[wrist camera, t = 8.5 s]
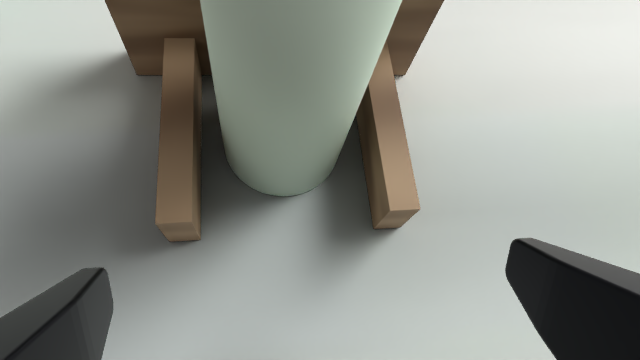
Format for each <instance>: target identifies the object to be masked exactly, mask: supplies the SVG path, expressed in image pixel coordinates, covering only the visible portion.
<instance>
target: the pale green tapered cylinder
mask: <svg viewBox="0 0 640 360" xmlns="http://www.w3.org/2000/svg"><path fill="white" fill-rule="evenodd" d="M401 2H402V0H200V3H201V10H202V16H203V22H204V28H205V34H206V40H207V46H208V52H209V59H210V65H211V71H212V77H213V83H214V89H215V95H216V101H217V108H218V114H219V120H220V126H221V132H222V138H223V144H224V150H225V155H226V158H227V161H228V163H229V165H230V167H231V169H232V170H233V172H234V173H235V174H236V176H237V177H238V178H239V179H240V180H241V181H242V182H244V183H245V184H246V185H248V186H249V187H251V188H253V189H255V190H257V191H259V192H262V193H265V194H269V195H274V196H294V195H298V194H302V193H305V192H307V191H310V190H312V189H313V188H315V187H317V186H318V185H320V184H321V183H322V182H323V181H324V180H325V179H326V178H327V177H328V176H329V175H330V173H331V172H332V170H333V168H334V166H335V164H336V161H337V159H338V156H339V154H340V152H341V149H342V147H343V144H344V142H345V139H346V137H347V134H348V132H349V130H350V127H351V125H352V122H353V120H354V117H355V115H356V112H357V110H358V107H359V105H360V103H361V100H362V98H363V95H364V93H365V90H366V88H367V85H368V83H369V81H370V78H371V76H372V73H373V71H374V68H375V66H376V63H377V61H378V58H379V56H380V54H381V51H382V49H383V46H384V44H385V41H386V39H387V36H388V34H389V32H390V29H391V27H392V24H393V22H394V19H395V17H396V14H397V12H398V10H399V7H400V5H401Z"/></svg>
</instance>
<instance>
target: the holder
mask: <svg viewBox="0 0 640 360" xmlns="http://www.w3.org/2000/svg"><path fill="white" fill-rule="evenodd" d="M443 1H444V0H402V2H401V5H400V7H399V10H398V12H397V14H396V17H395V19H394V22H393V24H392V27H391V29H390V32H389V34H388V36H387V39H386V41H385V44H384V46H383V49H382V51H381V54H380V56H379V58H378V61H377V63H376V66H375V68H374V71H373V73H372V76H371V78H370V81H369V83H368V85H367V88H366V90H365V93H364V95H363V98H362V100H361V103H360V105H359V107H358V110H357V112H356V118H357V125H358V131H359V138H360V144H361V151H362V157H363V164H364V171H365V177H366V184H367V190H368V197H369V203H370V210H371V216H372V223H373V229H383V228H399V227H401V226H402V225H403V224H404V223H406V222H407V221H408V220H409V219H410V218H411V217H412V216H413V215H414V214H415V213H417V212H418V211H419V210H420V204H419V199H418V194H417V189H416V184H415V179H414V174H413V169H412V164H411V159H410V154H409V149H408V144H407V139H406V134H405V129H404V124H403V119H402V114H401V109H400V104H399V99H398V94H397V89H396V84H395V79H394V75H405V74H406V72H407V70H408V68H409V66H410V64H411V63H412V61H413V59H414V57H415V55H416V53H417V51H418V49H419V47H420V45H421V43H422V41H423V40H424V38H425V36H426V34H427V32H428V30H429V28H430V26H431V24H432V22H433V20H434V18H435V17H436V15H437V13H438V11H439V9H440V7H441V5H442V3H443ZM105 2H106V4H107V7H108V9H109V11H110V14H111V16H112V18H113V21H114V23H115V25H116V27H117V30H118V32H119V34H120V37H121V39H122V41H123V44H124V46H125V48H126V50H127V53H128V55H129V57H130V60H131V62H132V64H133V67H134V69H135V71H136V73H137V75H163V77H162V97H161V117H160V136H159V156H158V176H157V196H156V216H155V224H156V225H157V227H158V228H159V229H160V230H161V232H162V233H163V234H164V236H165V237H166V238H167V239H168V241H169V242H174V241H190V240H201V126H202V75H212V71H211V65H210V59H209V52H208V46H207V40H206V34H205V28H204V22H203V16H202V10H201V3H200V0H105Z"/></svg>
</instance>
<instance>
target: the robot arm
mask: <svg viewBox="0 0 640 360" xmlns="http://www.w3.org/2000/svg"><path fill="white" fill-rule="evenodd" d="M505 271H506V277H507V280H508V281H509V283H510V285H511V287H512V288H513V290H514V292H515V294H516V295H517V297H518V299H519V301H520V302H521V304H522V306H523V308H524V309H525V311H526V313H527V315H528V316H529V318H530V320H531V322H532V323H533V325H534V327H535V328H536V330H537V332H538V333H539V335H540V336H541V338H542V339H543V341H544V342H545V344H546V345H547V347H548V348H549V349H550V351H551V352H552V354H553V355H554V357H555V358H556V359H557V360H640V274H639V273H636V272H633V271H630V270H627V269H624V268H621V267H618V266H615V265H612V264H609V263H606V262H603V261H600V260H597V259H594V258H591V257H588V256H585V255H582V254H579V253H576V252H573V251H570V250H567V249H564V248H561V247H558V246H555V245H552V244H549V243H545V242H542V241H539V240H536V239H533V238H519V239H515V240H513V241H512V243H511V246H510V250H509V255H508V259H507V264H506V269H505ZM112 313H113V298H112V293H111V288H110V283H109V278H108V273H107V271H106V270H105V269H104V268H101V267H100V268H85V269H82V270H80V271H78V272H76V273H75V274H73V275H71V276H70V277H68V278H66V279H65V280H63V281H61V282H60V283H58V284H56V285H55V286H53V287H51V288H50V289H48V290H46V291H45V292H43V293H41V294H40V295H38V296H36V297H35V298H33V299H31V300H30V301H28V302H26V303H24V304H23V305H21V306H19V307H18V308H16V309H14V310H13V311H11V312H9V313H8V314H6V315H4V316H3V317H1V318H0V360H101V358H102V354H103V350H104V346H105V342H106V338H107V334H108V330H109V326H110V322H111V318H112Z"/></svg>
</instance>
